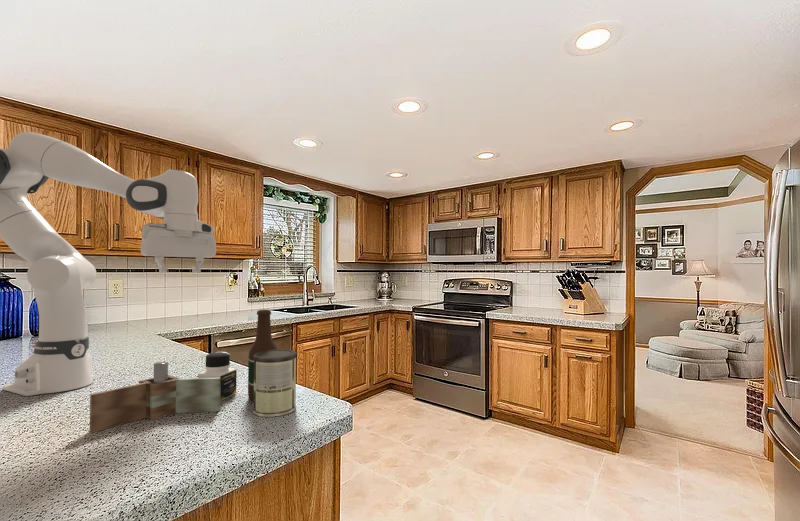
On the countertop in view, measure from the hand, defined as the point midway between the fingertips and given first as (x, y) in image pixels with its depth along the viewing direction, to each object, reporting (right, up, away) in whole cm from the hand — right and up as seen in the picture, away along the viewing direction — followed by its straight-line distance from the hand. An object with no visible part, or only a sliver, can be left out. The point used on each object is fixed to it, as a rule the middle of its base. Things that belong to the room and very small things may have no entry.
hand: (180, 272), depth 115 cm
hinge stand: (+8, -33, -23) cm, 41 cm away
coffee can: (+33, -34, -17) cm, 50 cm away
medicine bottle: (+14, -34, -7) cm, 38 cm away
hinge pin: (+6, -34, -19) cm, 39 cm away
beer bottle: (+27, -34, -8) cm, 44 cm away
